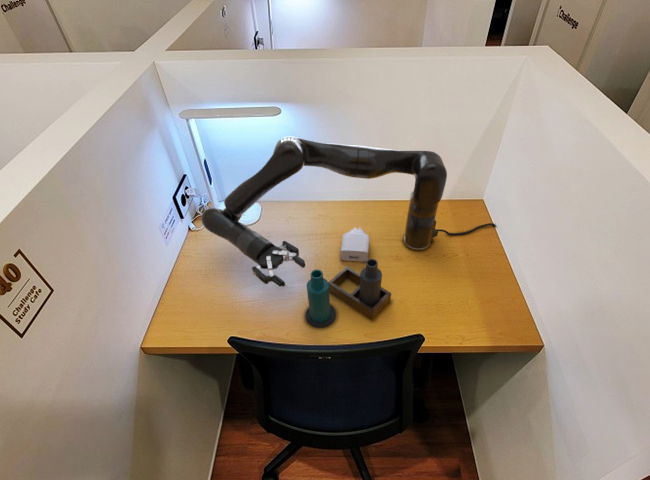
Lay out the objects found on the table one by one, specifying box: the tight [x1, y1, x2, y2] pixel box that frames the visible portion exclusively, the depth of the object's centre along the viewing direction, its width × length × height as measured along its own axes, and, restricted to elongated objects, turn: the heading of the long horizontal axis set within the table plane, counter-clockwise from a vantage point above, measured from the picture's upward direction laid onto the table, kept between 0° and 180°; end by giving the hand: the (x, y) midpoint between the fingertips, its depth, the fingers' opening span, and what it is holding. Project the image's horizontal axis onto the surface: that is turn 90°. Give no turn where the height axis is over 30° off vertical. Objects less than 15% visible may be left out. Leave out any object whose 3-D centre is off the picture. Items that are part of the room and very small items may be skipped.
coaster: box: [305, 304, 337, 329], centre depth 109 cm, size 9×9×1 cm
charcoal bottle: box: [358, 258, 383, 308], centre depth 106 cm, size 6×6×18 cm
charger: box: [339, 226, 370, 263], centre depth 128 cm, size 5×9×15 cm
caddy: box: [328, 266, 392, 321], centre depth 113 cm, size 9×17×4 cm, turn 49°
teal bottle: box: [306, 269, 331, 322], centre depth 102 cm, size 6×6×18 cm
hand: (294, 274), depth 106 cm, fingers open, 8 cm apart
